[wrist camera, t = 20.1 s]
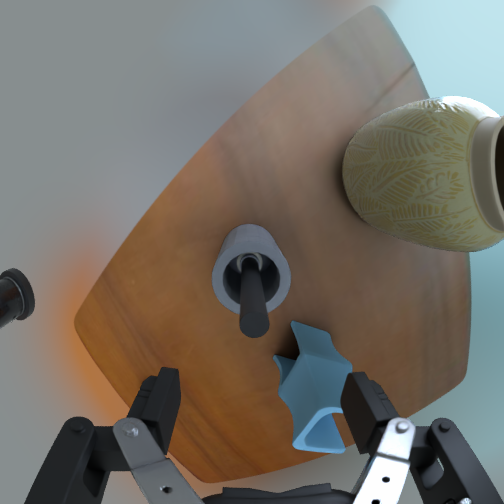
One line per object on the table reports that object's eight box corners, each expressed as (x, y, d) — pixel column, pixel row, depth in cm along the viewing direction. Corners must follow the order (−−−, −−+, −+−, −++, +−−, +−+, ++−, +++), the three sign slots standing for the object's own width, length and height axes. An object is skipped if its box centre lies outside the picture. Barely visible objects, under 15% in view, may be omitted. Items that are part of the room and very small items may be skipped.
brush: (237, 262, 41) (229, 344, 19) (238, 240, 40) (231, 302, 18) (259, 263, 41) (275, 346, 19) (260, 241, 40) (280, 304, 18)
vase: (308, 178, 39) (415, 164, 13) (373, 102, 37) (490, 38, 10) (384, 251, 42) (508, 319, 16) (438, 176, 39) (565, 183, 13)
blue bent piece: (312, 369, 46) (342, 453, 27) (272, 358, 45) (287, 448, 26) (333, 333, 45) (379, 412, 25) (292, 320, 44) (322, 404, 24)
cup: (221, 274, 42) (211, 314, 28) (223, 222, 40) (212, 239, 27) (273, 277, 42) (286, 317, 29) (277, 225, 41) (294, 243, 27)
